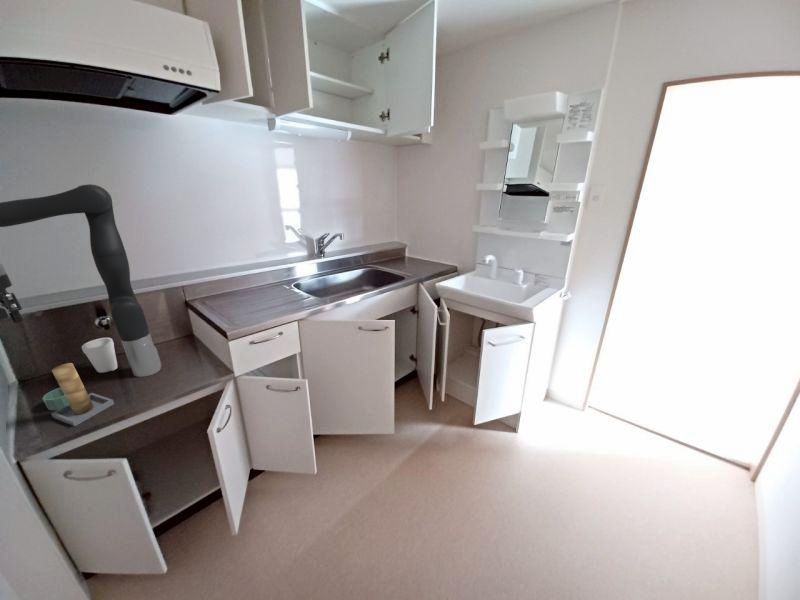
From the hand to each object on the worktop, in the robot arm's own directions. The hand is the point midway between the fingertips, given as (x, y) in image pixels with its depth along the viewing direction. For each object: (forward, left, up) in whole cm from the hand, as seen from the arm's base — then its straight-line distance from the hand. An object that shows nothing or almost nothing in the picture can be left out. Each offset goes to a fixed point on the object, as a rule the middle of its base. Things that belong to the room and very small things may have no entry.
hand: (11, 320), depth 104 cm
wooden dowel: (+10, +20, -31) cm, 38 cm away
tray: (+10, +20, -32) cm, 39 cm away
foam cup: (-17, +8, -32) cm, 37 cm away
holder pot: (+5, +9, -32) cm, 34 cm away
